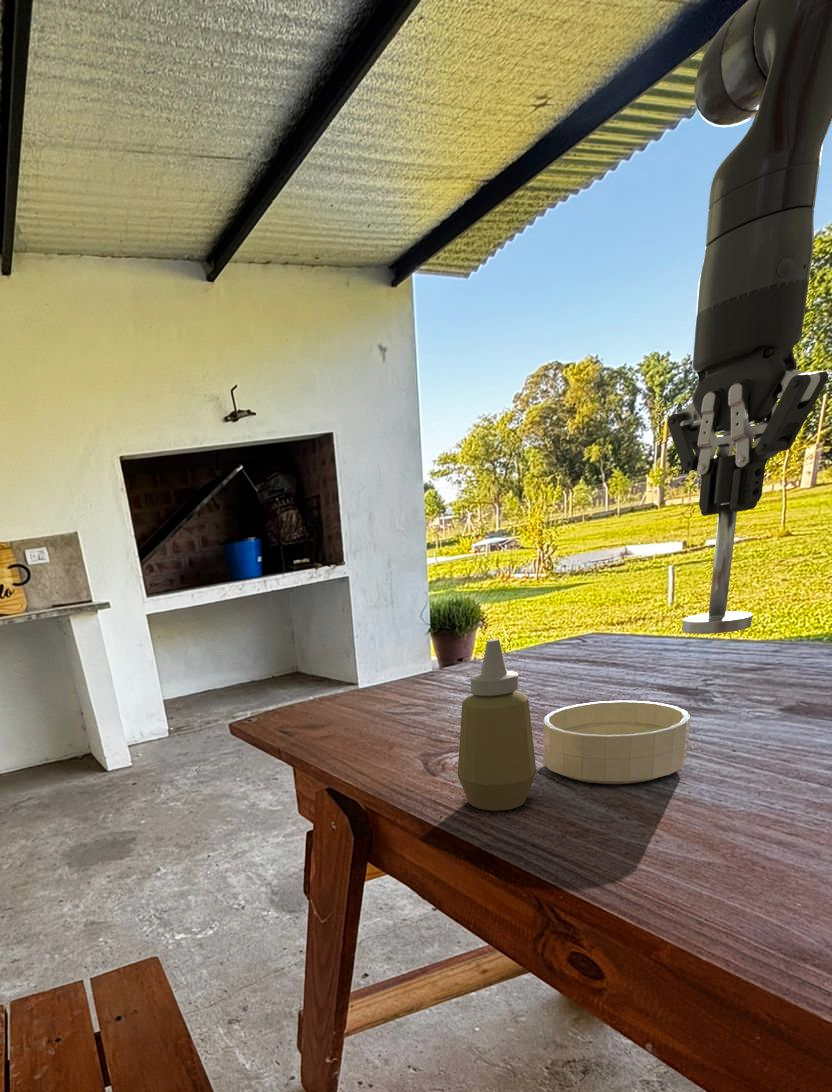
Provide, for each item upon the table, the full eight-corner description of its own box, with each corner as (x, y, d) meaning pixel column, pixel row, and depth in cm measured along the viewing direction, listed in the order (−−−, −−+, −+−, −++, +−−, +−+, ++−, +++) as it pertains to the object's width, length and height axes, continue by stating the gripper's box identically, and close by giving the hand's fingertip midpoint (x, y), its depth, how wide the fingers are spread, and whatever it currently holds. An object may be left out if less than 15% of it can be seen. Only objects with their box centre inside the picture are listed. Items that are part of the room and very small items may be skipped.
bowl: (618, 739, 80) (620, 694, 78) (718, 769, 67) (724, 716, 64) (518, 763, 78) (518, 717, 76) (601, 798, 65) (603, 745, 63)
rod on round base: (714, 622, 66) (731, 456, 60) (766, 624, 61) (790, 443, 55) (668, 632, 65) (681, 465, 60) (716, 635, 60) (736, 453, 54)
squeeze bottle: (540, 789, 70) (541, 629, 63) (531, 818, 63) (532, 644, 57) (466, 787, 74) (460, 636, 68) (451, 814, 68) (443, 651, 61)
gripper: (881, 249, 47) (840, 495, 53) (714, 322, 60) (697, 514, 66) (797, 261, 46) (765, 510, 52) (646, 333, 59) (635, 526, 65)
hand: (727, 511), depth 59 cm, fingers closed on rod on round base, 2 cm apart
